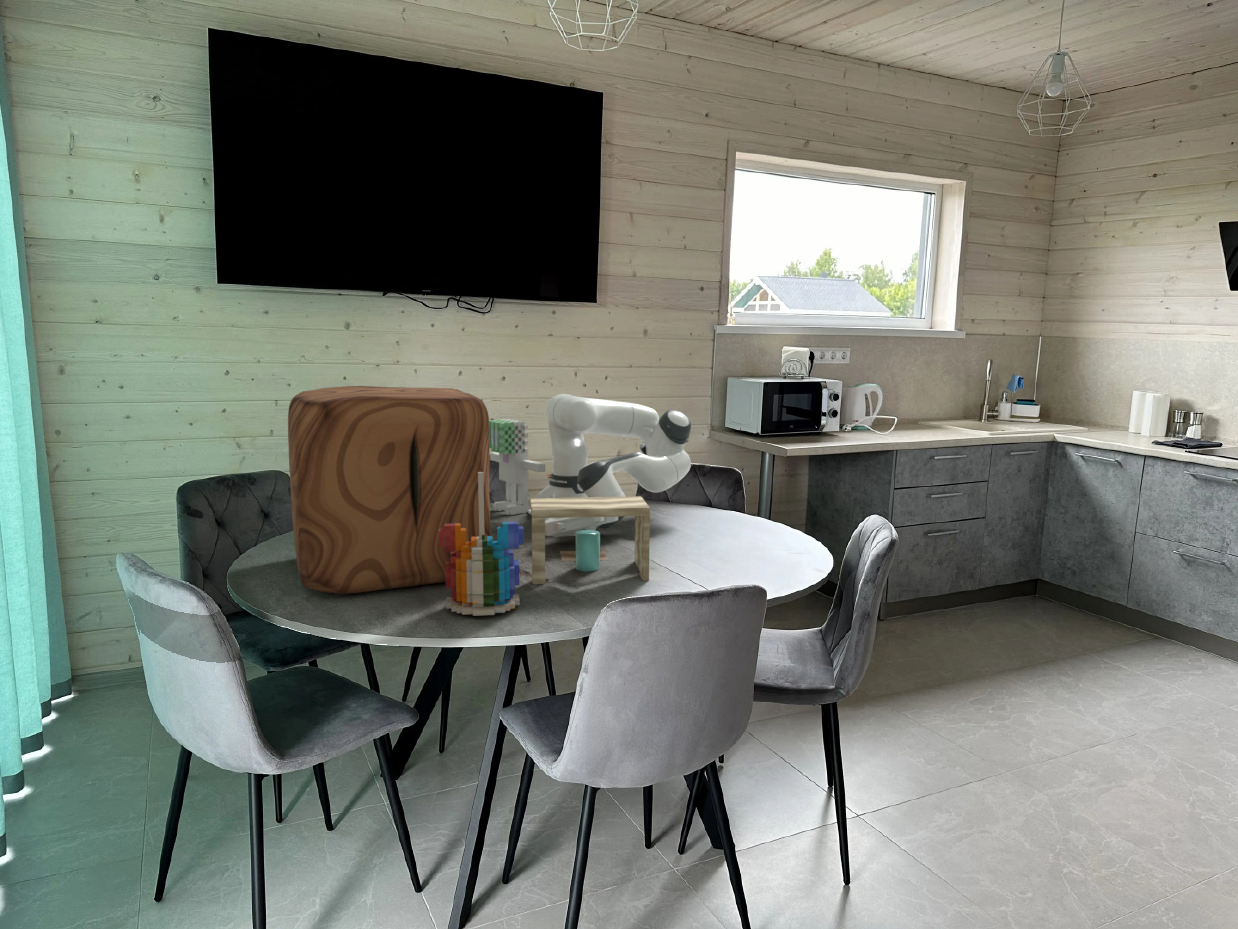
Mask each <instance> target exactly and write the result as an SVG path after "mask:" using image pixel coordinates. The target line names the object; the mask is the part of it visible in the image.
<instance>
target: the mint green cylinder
mask: <svg viewBox="0 0 1238 929" xmlns="http://www.w3.org/2000/svg"><path fill="white" fill-rule="evenodd" d="M600 550H601V532H600V531H598V530H582V531H578V532H576V536H575V551H576V561H575V569H576V570H577V571H579V572H596V571H599V570H600V569H601V560H600Z"/></svg>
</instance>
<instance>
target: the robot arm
mask: <svg viewBox="0 0 1238 929" xmlns="http://www.w3.org/2000/svg"><path fill="white" fill-rule="evenodd" d="M545 415H546V418H547V422H548V430H549V437H550V443H551V450H552V473H551V474H547V476H548V477H547V479H549V481H548V485H547V486H546V487H544V488H543V489H542V490H541V491H540V492H539V493H537V494H536V497H535V498H572V497H627V496H626V495H625V493H624V492H623V490H622V488H621V486H620V484H619V483H618V481H617V479H616V477H615V475H614V473H618V472H622V471H623V472H625V473H627V474H628V475H630V476H631V477H632V478H633V479H634V481H636V483H638V484H639V485H640V487H642V488H643V489H645V490H646V491H648V492H651V493H662V492H664V491H666V490H668V489H671V488H672V487H674V486H675V485H676V484H677V483H679V482H680V481H681V480H682V479H683V478H684V477H685V476H686V475H687V474H688V473H689V472H690V469H691V468H692V467H691V466H692V462H691V458H690V455H689V453H687V452H686V450H685V449H684V447H685V445H686V443H688V442H689V439H690V434H691V429H692V422H691V419H690V418H689V417H688V416H687V414H685V413H684V412H682V411H680V410H677V409H668V410H666V411H665V412H664V413H663V414H662V415H661V416H659V414H658V412H657V411H656V410H655V409H654V408H651V407H649V406H646V405H643V404H639V403H634V402H628V401H620V400H619V401H618V400H610V399H604V398H603V399H601V398H590V397H583V396H577V395H573V394H568V393H559V394H557V395H554V396H552V397H551V398H550V399H548V401H547V403H546V405H545ZM584 434H591V435H607V436H608V435H609V436H617V437H618V436H619V437H626V438H627V437H628V438H636V439H639V440H641V441H642V442H641V443H640V444H639V449H640V451H638V452H637V451H636V452H631V453H626V454H623V455H619V456H616V457H611V458H607V459H602V460H597V461H596V460H595V461H591V462H589V463H588V446H587V444H586V440H585V436H584ZM527 514H529V515H531V516H532V514H531V508H529V510H528V513H527ZM625 517H626V516H620V517H572V518H545V537H554V538H563V537H571V536H572V537H576V532H578V531H582V530H594V531H596V530H597V528H600V529H607V528H610V527H612V526H614V525H615V524H617V523H618V522H620V521H621V520H622V519H623V518H625Z"/></svg>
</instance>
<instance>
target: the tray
mask: <svg viewBox="0 0 1238 929" xmlns="http://www.w3.org/2000/svg"><path fill="white" fill-rule="evenodd" d="M559 555H560V558H561V562H576V550H560V551H559ZM600 561H609V558H608V555H607V553H606V551H605V549H600Z"/></svg>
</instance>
